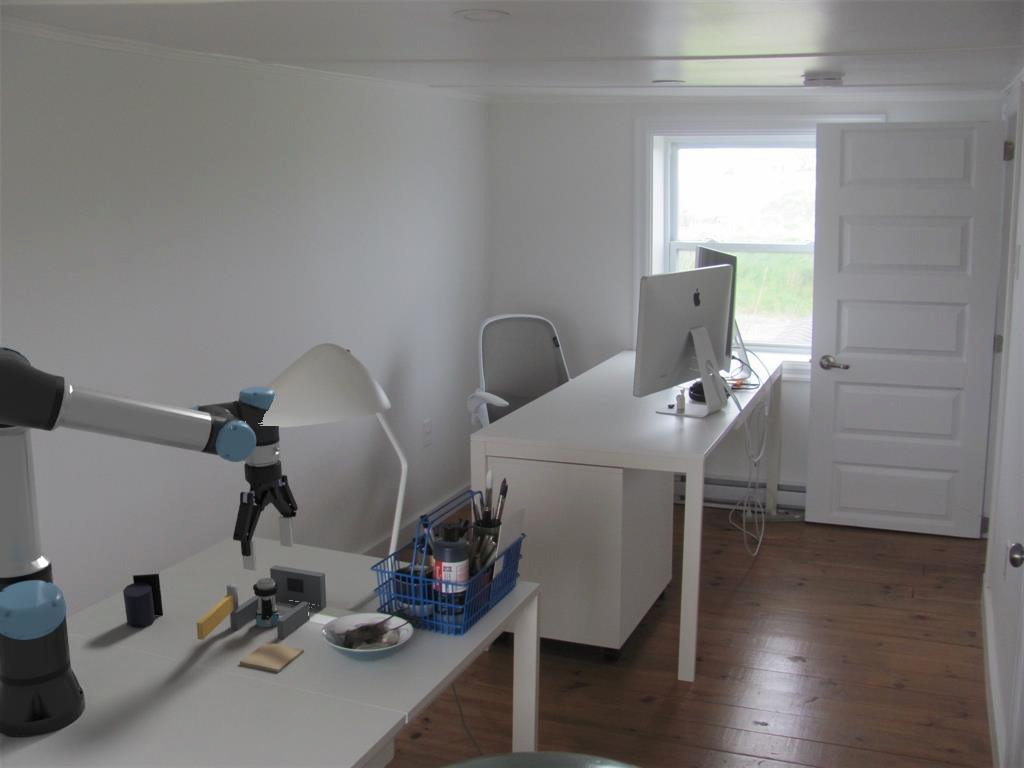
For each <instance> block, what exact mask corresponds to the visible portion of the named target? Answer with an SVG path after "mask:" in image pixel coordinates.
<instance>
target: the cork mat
mask: <svg viewBox="0 0 1024 768" xmlns="http://www.w3.org/2000/svg"><path fill="white" fill-rule="evenodd" d="M304 652H305V651H304V648H303V649H302V648H298V647H293V646H288V645H287V646H286V645H283V644H278V643H272V642H269V641H268V642H264V643H263V644H262V645H260V646H259V647H258V648H257V649H255V650H253V651H252V652H250V653H249V654H248V655H246V656H245V657H244V658H242V659H241V660H240V661H239V665H240V666H245V667H251V668H256V669H259V670H266V671H269V672H275V673H280V672H282V670H284V669H285V668H286V667H288V666H289V665H290V664H291V663H292V662H293V661H295V660H296V659H298V657H300V656H301V655H302V654H304Z"/></svg>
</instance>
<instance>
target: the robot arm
mask: <svg viewBox="0 0 1024 768" xmlns="http://www.w3.org/2000/svg"><path fill="white" fill-rule="evenodd" d="M274 391H275V390H274V389H273V388H271V387H268V386H252V387H251V386H250V387H247V388H243V389H241V390H240V391H239V393H238V394H239V395H238V400H234V401H230V402H220V403H214V404H206V405H205V404H204V405H196V406H190V407H188V408H187V407H181V406H178V405H177V406H176V405H172V404H168V403H162V402H158V401H151V400H148V399H143V398H138V397H133V396H128V395H124V394H123V395H122V394H118V393H114V392H109V391H103V390H99V389H94V388H91V387H84V386H80V385H76V384H71V383H69V381H68V379H67V378H66V377H65V376H61V375H56V374H52V373H49V372H46V371H42V370H40V369H39V368H36V367H34V366H32V365H31V363H30V361H29V359H28V358H27V357H26V356H25V355H24V354H23V353H21V352H19V350H16V349H13V348H9V347H7V346H0V734H2V735H4V736H11V737H32V736H37V735H38V736H39V735H42V734H47V733H50V732H53V731H56V730H59V729H61V728H64V727H65V726H68V725H69V724H72V723H73V722H74V721H75V720H77V719H78V718H79V717H80V716H81V715H82V714H83V713H84V712H85V708H86V700H85V693H84V689H83V688H82V686H81V684H80V682H79V680H78V678H77V677H76V673H75V672H74V670H73V668H72V666H71V665H72V664H71V655H70V644H69V633H68V625H67V603H66V600H65V598H64V594H63V591H62V590H61V588H60V587H59V586H57V584H54V578H53V577H54V575H53V566H52V565H53V564H52V558H51V557H50V555H48V554H47V553H45V552H44V551H42V544H41V543H42V542H41V533H40V532H41V531H40V520H39V519H40V518H39V510H38V499H37V489H36V488H37V487H36V477H35V467H34V466H35V464H34V457H33V456H34V454H33V453H34V452H33V444H32V432H31V430H32V429H36V430H42V431H47V432H48V431H49V432H53V431H55V430H57V429H58V428H66V429H70V430H77V431H81V432H87V433H94V434H98V435H104V436H111V437H116V438H119V439H120V438H122V439H128V440H131V441H138V442H143V443H150V444H154V445H155V444H156V445H160V446H161V445H162V446H166V447H172V448H176V449H184V450H189V451H195V452H200V453H203V454H208V455H215V456H219V457H220V458H221V459H224V460H225V461H229V462H232V463H234V462H235V463H239V462H244V465H243V467H244V479H245V481H246V482H247V483H248V484H249V491H241V492H240V494H239V506H238V512H237V516H236V521H235V525H234V529H233V535H232V540H233V541H239V542H240V550H241V556H242V566H243V570H247V571H248V570H249V571H256V570H257V569H258V568H257V553H256V539H253V536H254V533H255V531H256V528H257V526H258V523H259V520H260V516H261V514H262V512H263V511H265V508H266V507H267V506H269V504H271V505H273V507H275V509H276V510H277V512H278V513H279V515H280V516H279V517H278V526H279V527H278V528H279V529H278V530H279V543H280V544H279V545H280V547H281V546H282V547H289V548H292V547H293V546H294V543H293V542H294V538H293V518H296V516H297V511H298V508H299V507H298V504H297V502H296V500H295V497H294V495H293V492H292V490H291V487H290V485H289V481H288V475H287V474H283V471H282V461H281V460H280V459H281V456H282V455H281V443H280V442H281V441H280V425H279V426H260V425H263V424H258V423H261V422H263V421H262V420H263V417H264V414H265V413H266V411H268V410H269V408H270V406H271V404H272V402H273V399H274V396H275V392H276V391H275V392H274ZM245 421H246V423H245Z"/></svg>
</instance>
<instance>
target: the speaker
mask: <svg viewBox="0 0 1024 768" xmlns="http://www.w3.org/2000/svg"><path fill="white" fill-rule="evenodd" d="M132 579H133V583H130V584H128V585H127V586H125V588H124V589H123V590H122V594H123V600H124V608H125V616H126V623H127V625H128V626H129V627H130V628H133V629H134V628H135V629H142V628H143V629H144V628H146V627H149V626H151V625H153V623H154V622H155V621H156V617H157V616H163V615H164V610H163V600H162V591H161V581H160V573H150V574H149V573H148V574H136V575H132Z"/></svg>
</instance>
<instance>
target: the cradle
mask: <svg viewBox="0 0 1024 768" xmlns="http://www.w3.org/2000/svg"><path fill="white" fill-rule="evenodd" d="M269 575H270V576H269V577H270V578H271V579H273V580H274V581H275V582H277V583H278V584H279V587H278V591H277V593H276V594H275V603H277V604H283V605H284V604H285V605H290V606H294V605H295V606H294V607H293V608H292V609H290V610H289V611H288V612H286V613H284V614H283V616H282V615H281V616H282V617H281V618H279V619H278V620H277V625H276V629H277V631H276V634H277V639H281V640H284V639H286V638H288V636H290V635H291V634H293V633H294V632H295V631H297V630H298V629H299V628H300V627H302V626H303V625H304V624H306V623H307V622H308V621H310V615H309V616H308V612H309V613H310V609H311V607H312V608H314V609H313V610H317V611H323V610H324V609H325V608H327V591H326V589H327V588H326V587H327V586H326V573H325V572H319V571H312V570H306V569H300V568H295V567H287V566H282V565H276V564H275V565H273V566H272V567H270V568H269ZM289 600H293V601H289ZM295 601H299V602H295ZM309 603H310V604H309ZM312 604H315V605H312ZM296 605H297V606H296ZM318 605H319V606H318ZM309 607H310V608H309ZM261 608H262V597H261ZM257 611H258V596H256V595H255V594H254V596H252V597H251V598H249V599H248V600H246V601H245V602H243V603H242V604H239V608H238V609H235V610H233V611H232V612H231V613H230V614H229V621H230V622H229V623H230V628H231V630H234V631H239V630H240V629H242V628H243V627H245V626H246V625H248V624H249V623H250V622H252V621H253V620H256V613H257Z"/></svg>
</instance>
